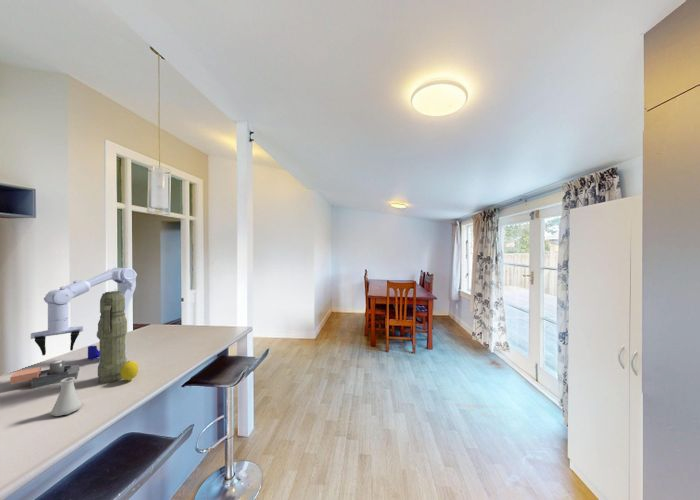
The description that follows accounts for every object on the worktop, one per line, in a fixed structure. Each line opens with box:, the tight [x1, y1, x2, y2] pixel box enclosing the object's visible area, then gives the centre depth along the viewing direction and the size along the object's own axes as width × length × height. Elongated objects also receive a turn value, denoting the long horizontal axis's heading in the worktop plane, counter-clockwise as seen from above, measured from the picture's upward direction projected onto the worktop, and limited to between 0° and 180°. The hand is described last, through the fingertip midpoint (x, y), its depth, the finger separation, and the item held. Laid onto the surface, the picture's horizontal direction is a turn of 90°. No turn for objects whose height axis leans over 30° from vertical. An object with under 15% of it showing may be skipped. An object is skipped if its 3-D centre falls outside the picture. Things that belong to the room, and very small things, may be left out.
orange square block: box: [9, 366, 42, 385], centre depth 103 cm, size 6×6×2 cm
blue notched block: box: [87, 345, 100, 360], centre depth 134 cm, size 12×4×6 cm, turn 175°
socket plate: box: [30, 364, 80, 389], centre depth 109 cm, size 12×10×3 cm
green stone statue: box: [97, 290, 128, 385], centre depth 109 cm, size 9×12×35 cm
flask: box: [49, 377, 85, 417], centre depth 88 cm, size 7×7×10 cm
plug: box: [49, 359, 65, 375], centre depth 109 cm, size 4×4×7 cm
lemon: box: [120, 360, 139, 382], centre depth 107 cm, size 6×6×8 cm
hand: (58, 352), depth 111 cm, fingers open, 7 cm apart
